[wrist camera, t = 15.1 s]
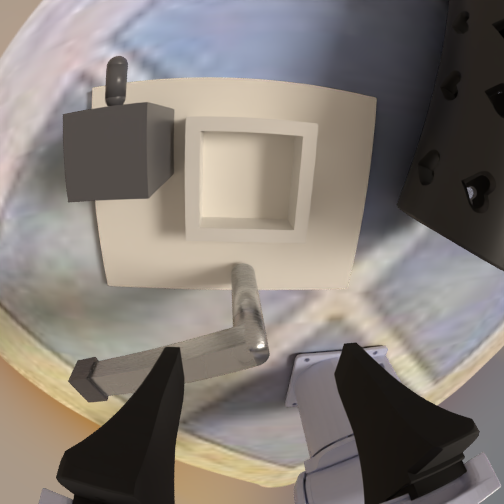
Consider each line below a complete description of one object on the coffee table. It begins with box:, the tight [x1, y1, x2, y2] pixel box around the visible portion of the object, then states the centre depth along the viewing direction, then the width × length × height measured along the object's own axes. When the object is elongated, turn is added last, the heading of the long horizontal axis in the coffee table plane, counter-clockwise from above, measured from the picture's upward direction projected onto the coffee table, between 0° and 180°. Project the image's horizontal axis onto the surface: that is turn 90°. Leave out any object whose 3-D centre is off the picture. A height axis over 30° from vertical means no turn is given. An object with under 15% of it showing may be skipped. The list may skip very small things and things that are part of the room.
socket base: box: [92, 78, 377, 290], centre depth 17 cm, size 18×14×3 cm
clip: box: [68, 263, 269, 402], centre depth 16 cm, size 2×12×8 cm, turn 109°
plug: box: [63, 56, 175, 202], centre depth 12 cm, size 4×7×6 cm, turn 177°
